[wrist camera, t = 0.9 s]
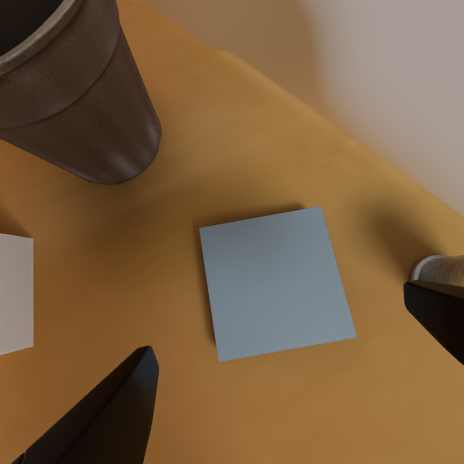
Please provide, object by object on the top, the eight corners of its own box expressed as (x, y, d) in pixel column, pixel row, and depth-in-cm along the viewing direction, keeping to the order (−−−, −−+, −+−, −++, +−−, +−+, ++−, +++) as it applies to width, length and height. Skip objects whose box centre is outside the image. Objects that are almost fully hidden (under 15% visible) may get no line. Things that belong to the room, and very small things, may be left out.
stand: (341, 329, 22) (356, 337, 19) (221, 351, 22) (218, 362, 19) (311, 214, 25) (320, 206, 22) (204, 234, 25) (199, 227, 22)
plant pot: (104, 232, 25) (-121, 152, 10) (23, 146, 28) (-252, -23, 12) (205, 136, 27) (155, -59, 12) (120, 65, 30) (-11, -168, 15)
